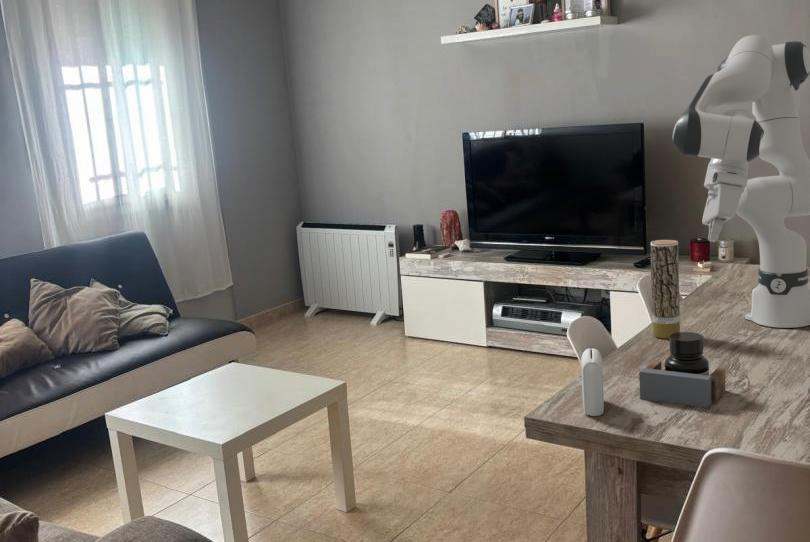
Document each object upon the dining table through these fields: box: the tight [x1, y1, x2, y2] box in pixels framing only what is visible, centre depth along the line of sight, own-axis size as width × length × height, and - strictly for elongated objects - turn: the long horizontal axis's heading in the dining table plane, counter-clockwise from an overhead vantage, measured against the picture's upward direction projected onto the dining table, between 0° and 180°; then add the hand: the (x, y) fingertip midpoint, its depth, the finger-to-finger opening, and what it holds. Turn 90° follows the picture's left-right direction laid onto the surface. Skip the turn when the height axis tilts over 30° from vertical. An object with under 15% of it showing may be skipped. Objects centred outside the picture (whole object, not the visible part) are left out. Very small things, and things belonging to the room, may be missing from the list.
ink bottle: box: [664, 331, 710, 376], centre depth 175 cm, size 10×9×12 cm
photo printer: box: [580, 348, 605, 417], centre depth 170 cm, size 10×4×12 cm, turn 168°
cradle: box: [646, 360, 726, 405], centre depth 175 cm, size 8×15×5 cm, turn 55°
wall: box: [638, 367, 713, 409], centre depth 170 cm, size 2×14×6 cm, turn 55°
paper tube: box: [650, 239, 681, 340], centre depth 213 cm, size 7×7×25 cm
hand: (712, 241), depth 188 cm, fingers closed
